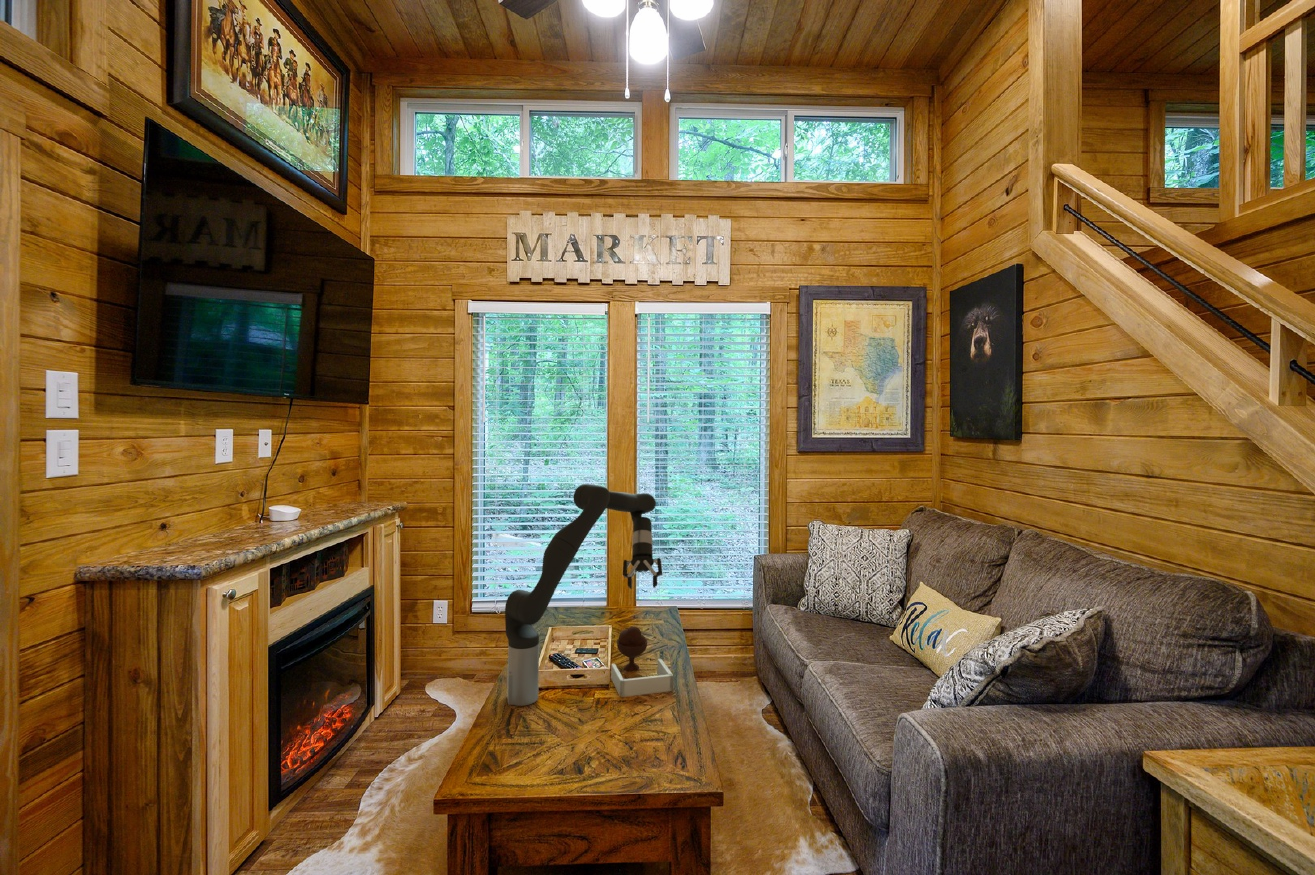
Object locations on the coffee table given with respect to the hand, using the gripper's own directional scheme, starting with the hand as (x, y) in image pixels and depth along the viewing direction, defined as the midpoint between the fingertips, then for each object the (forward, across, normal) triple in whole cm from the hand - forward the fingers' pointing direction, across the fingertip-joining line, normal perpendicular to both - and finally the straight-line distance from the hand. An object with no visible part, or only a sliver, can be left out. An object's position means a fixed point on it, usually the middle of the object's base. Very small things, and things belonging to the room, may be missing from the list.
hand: (642, 587), depth 211 cm
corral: (+33, 0, -2) cm, 33 cm away
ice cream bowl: (+26, -5, +8) cm, 28 cm away
